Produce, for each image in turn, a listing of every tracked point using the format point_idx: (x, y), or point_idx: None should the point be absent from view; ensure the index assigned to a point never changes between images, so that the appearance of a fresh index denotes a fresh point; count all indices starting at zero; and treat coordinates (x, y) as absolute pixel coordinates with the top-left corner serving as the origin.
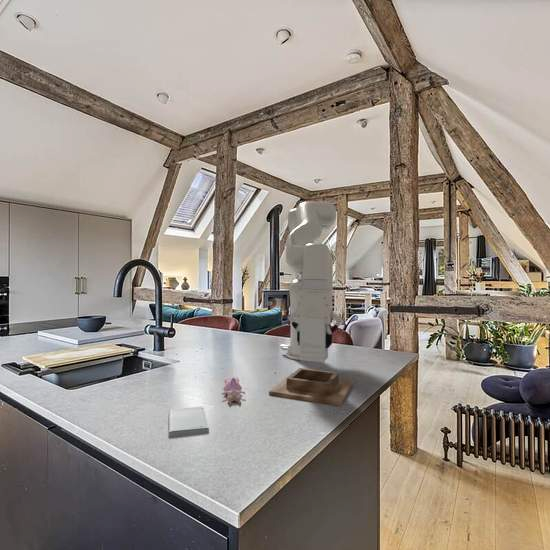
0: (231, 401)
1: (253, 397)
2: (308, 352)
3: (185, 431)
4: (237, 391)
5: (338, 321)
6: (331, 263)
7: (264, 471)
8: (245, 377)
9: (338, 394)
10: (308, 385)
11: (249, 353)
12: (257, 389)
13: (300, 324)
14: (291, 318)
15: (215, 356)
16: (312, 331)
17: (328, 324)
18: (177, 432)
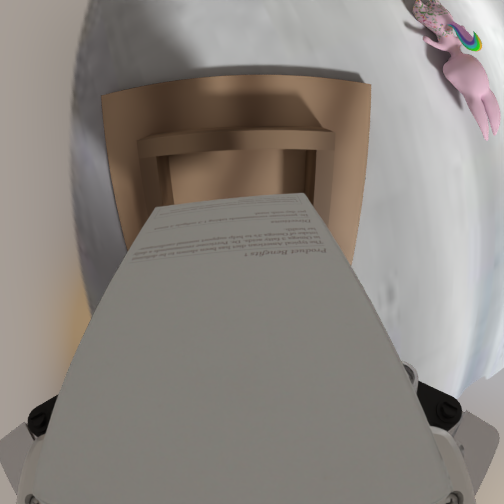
0: (426, 4)
1: (397, 51)
2: (249, 215)
3: None
4: (436, 14)
5: (15, 455)
6: None
7: None
8: (457, 222)
9: (127, 159)
10: (231, 129)
11: (440, 371)
12: (412, 125)
13: (412, 403)
14: (475, 444)
15: (496, 322)
16: (208, 352)
17: (42, 435)
18: None
